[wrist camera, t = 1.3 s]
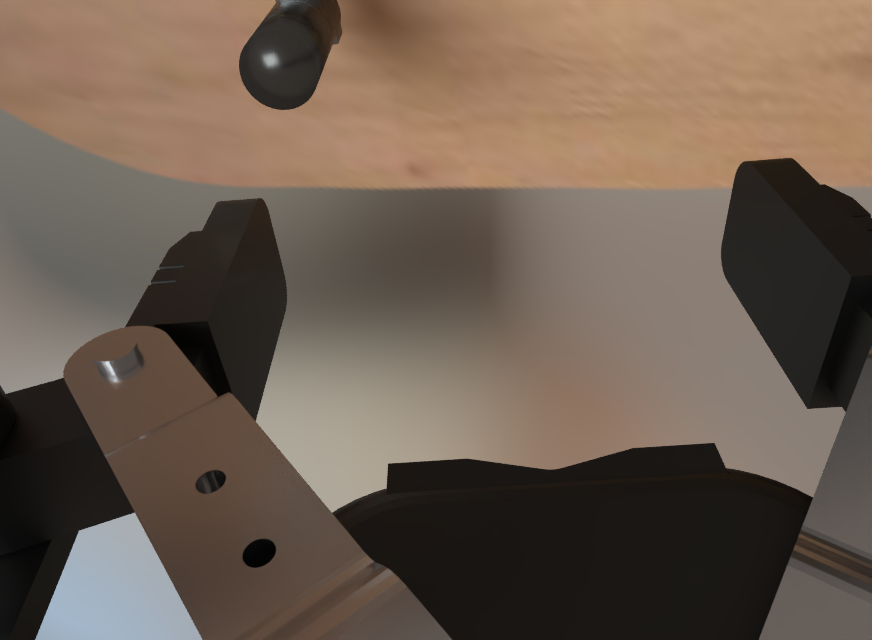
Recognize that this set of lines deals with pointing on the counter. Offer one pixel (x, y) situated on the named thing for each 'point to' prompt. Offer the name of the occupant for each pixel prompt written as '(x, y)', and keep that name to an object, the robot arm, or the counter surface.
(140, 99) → the counter surface
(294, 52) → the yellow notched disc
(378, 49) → the counter surface
